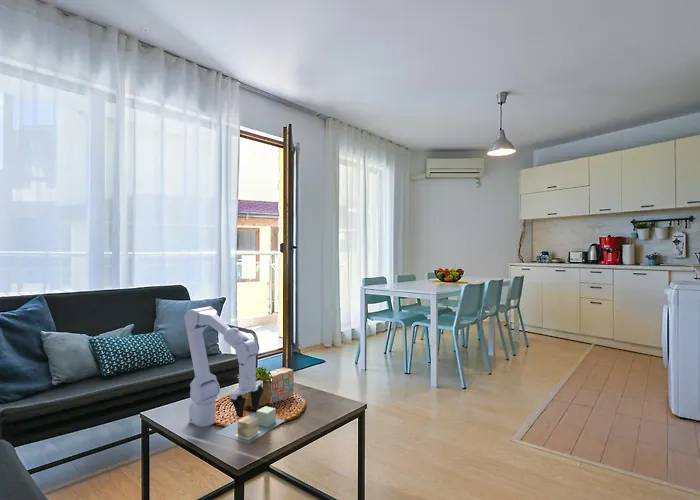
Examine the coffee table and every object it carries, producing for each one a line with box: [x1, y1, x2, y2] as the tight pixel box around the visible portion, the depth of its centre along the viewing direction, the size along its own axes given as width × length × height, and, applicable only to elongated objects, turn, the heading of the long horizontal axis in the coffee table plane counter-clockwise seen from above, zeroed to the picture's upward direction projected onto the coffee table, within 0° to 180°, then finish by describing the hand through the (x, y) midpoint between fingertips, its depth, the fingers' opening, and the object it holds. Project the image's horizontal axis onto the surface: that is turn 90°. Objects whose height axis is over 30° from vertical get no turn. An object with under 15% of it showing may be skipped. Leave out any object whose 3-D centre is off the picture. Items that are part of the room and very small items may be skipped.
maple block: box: [237, 415, 258, 438], centre depth 141 cm, size 5×5×5 cm
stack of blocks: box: [269, 367, 295, 405], centre depth 173 cm, size 21×6×12 cm, turn 141°
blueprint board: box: [214, 412, 286, 444], centre depth 147 cm, size 16×20×1 cm
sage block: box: [256, 405, 277, 427], centre depth 150 cm, size 5×5×5 cm
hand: (247, 412), depth 141 cm, fingers open, 7 cm apart
